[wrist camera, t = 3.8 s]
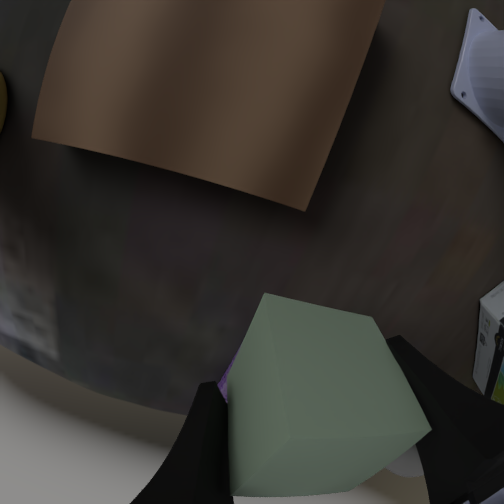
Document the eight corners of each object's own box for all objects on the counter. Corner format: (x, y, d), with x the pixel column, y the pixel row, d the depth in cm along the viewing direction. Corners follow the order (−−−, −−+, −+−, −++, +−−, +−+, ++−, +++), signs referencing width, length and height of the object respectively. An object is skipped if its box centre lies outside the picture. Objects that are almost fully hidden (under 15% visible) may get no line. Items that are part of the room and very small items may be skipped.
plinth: (363, 8, 12) (387, -6, 9) (292, 193, 16) (305, 211, 14) (127, -52, 9) (111, -73, 6) (59, 130, 14) (31, 137, 11)
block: (371, 317, 12) (431, 429, 7) (321, 389, 14) (348, 491, 9) (264, 292, 11) (290, 437, 6) (226, 376, 13) (230, 495, 8)
